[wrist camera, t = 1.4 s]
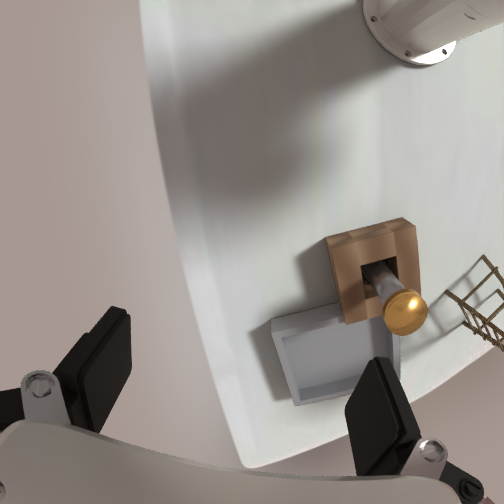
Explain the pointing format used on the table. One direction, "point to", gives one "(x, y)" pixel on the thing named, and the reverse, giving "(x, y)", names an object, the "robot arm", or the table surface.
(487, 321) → the miniature windmill
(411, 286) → the socket block
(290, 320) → the tray
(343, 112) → the table surface
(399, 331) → the pin
